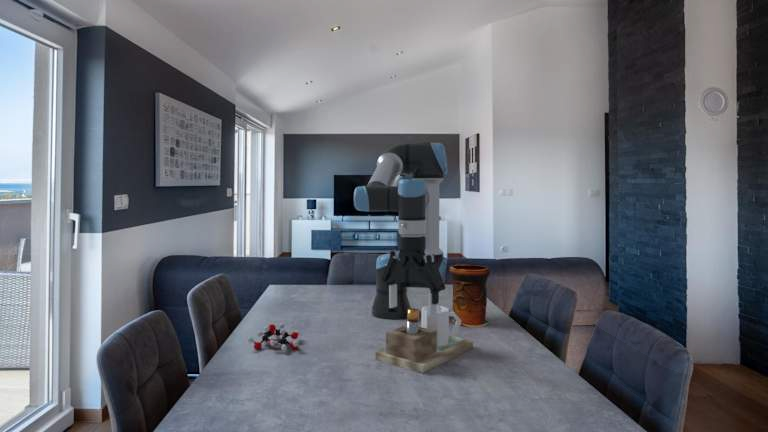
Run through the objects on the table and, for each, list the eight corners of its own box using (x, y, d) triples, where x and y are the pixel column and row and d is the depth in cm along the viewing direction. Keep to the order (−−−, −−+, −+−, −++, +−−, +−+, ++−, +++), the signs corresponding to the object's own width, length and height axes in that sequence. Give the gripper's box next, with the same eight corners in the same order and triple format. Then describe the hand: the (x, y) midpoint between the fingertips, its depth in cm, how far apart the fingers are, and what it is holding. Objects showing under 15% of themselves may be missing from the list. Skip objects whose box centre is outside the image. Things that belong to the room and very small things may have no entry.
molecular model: (273, 336, 150) (314, 330, 145) (258, 367, 140) (302, 362, 135) (259, 313, 145) (301, 307, 141) (242, 344, 135) (287, 338, 130)
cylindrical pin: (403, 352, 128) (405, 309, 127) (410, 349, 131) (412, 307, 130) (412, 355, 126) (414, 312, 125) (419, 352, 129) (421, 310, 128)
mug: (424, 347, 132) (424, 313, 132) (418, 337, 141) (418, 305, 140) (464, 345, 134) (465, 311, 134) (456, 336, 143) (456, 304, 142)
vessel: (440, 321, 166) (441, 266, 165) (462, 314, 176) (463, 262, 176) (474, 330, 156) (476, 271, 155) (496, 322, 167) (497, 267, 166)
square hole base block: (375, 359, 129) (375, 330, 129) (428, 336, 149) (428, 312, 148) (422, 373, 119) (422, 342, 118) (472, 347, 139) (473, 321, 138)
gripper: (369, 233, 132) (369, 306, 134) (442, 239, 116) (442, 322, 118) (386, 231, 138) (386, 301, 139) (458, 237, 122) (457, 316, 123)
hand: (412, 311), depth 129 cm, fingers open, 13 cm apart
